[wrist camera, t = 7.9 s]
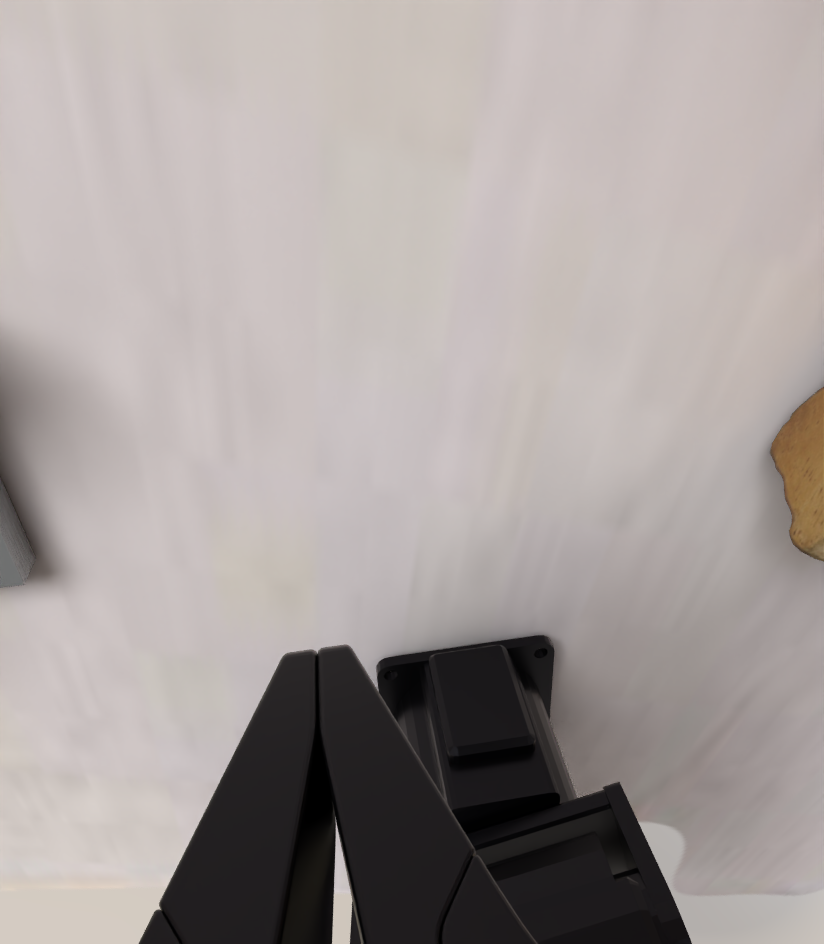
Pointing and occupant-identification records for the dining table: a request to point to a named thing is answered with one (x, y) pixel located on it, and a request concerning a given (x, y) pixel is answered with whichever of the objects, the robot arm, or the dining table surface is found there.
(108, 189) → the dining table surface
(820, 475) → the wooden carving
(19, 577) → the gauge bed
